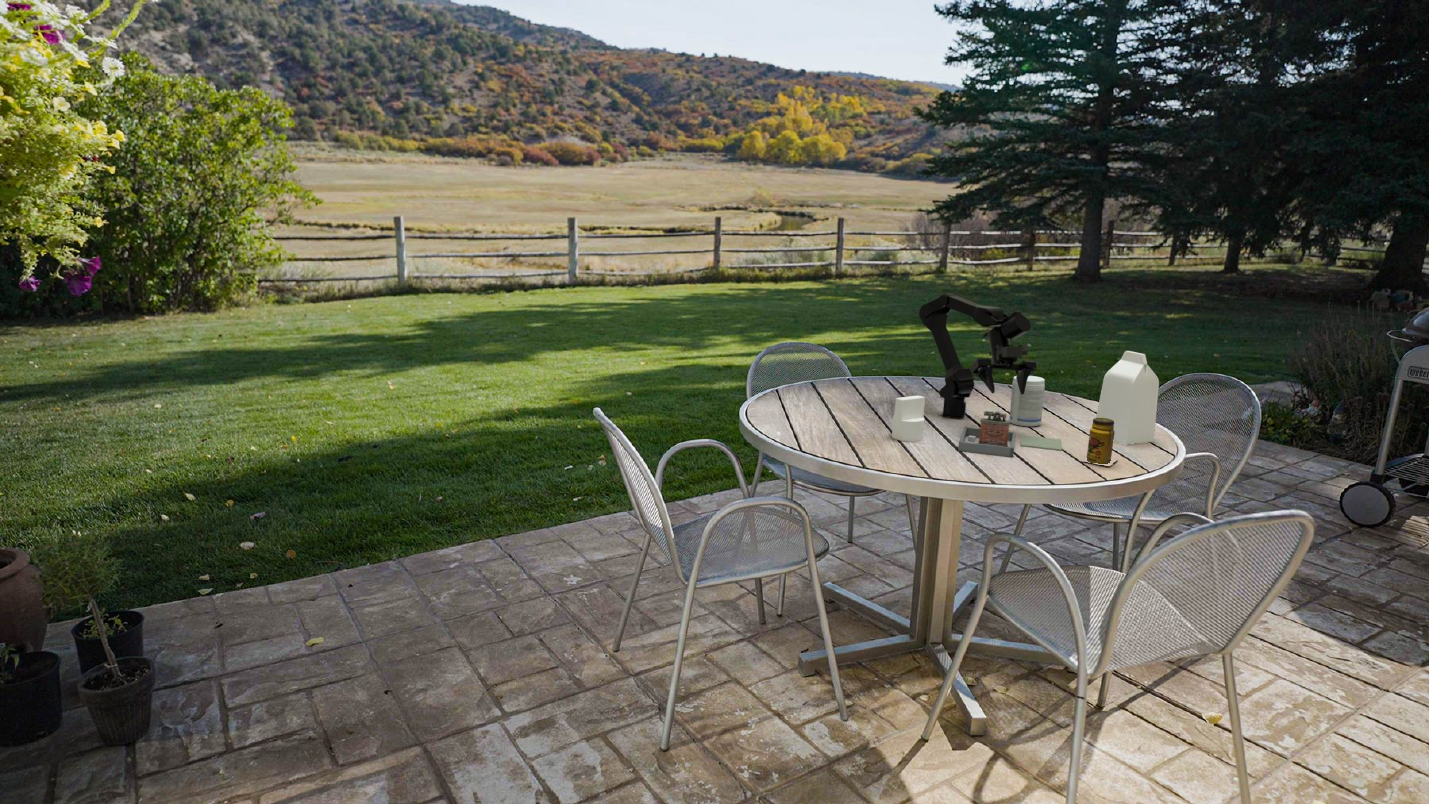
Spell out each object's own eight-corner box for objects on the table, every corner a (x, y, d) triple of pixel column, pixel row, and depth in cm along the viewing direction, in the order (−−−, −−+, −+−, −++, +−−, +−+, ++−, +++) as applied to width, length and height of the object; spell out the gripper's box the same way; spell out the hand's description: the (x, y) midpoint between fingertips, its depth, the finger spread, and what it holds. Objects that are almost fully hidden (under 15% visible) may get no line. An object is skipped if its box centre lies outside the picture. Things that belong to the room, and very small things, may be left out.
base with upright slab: (905, 443, 243) (908, 402, 240) (885, 435, 251) (888, 395, 248) (929, 439, 247) (932, 399, 244) (909, 431, 255) (912, 393, 252)
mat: (1020, 446, 242) (1020, 444, 242) (1021, 436, 252) (1021, 435, 252) (1061, 450, 238) (1061, 449, 238) (1061, 440, 248) (1061, 439, 248)
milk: (1092, 434, 256) (1104, 350, 250) (1120, 431, 260) (1132, 348, 254) (1125, 445, 245) (1138, 357, 239) (1153, 441, 250) (1166, 355, 243)
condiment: (1080, 462, 228) (1086, 419, 225) (1090, 455, 235) (1096, 414, 232) (1109, 468, 224) (1115, 424, 221) (1118, 461, 230) (1124, 418, 227)
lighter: (1007, 445, 243) (1011, 411, 240) (1007, 448, 240) (1011, 414, 237) (978, 442, 245) (981, 408, 243) (978, 445, 242) (981, 411, 240)
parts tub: (958, 450, 236) (958, 442, 236) (963, 434, 252) (964, 426, 252) (1012, 457, 231) (1013, 448, 231) (1014, 440, 247) (1015, 432, 247)
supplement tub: (1047, 425, 266) (1052, 379, 262) (1028, 429, 260) (1033, 382, 257) (1021, 418, 273) (1026, 373, 270) (1002, 421, 268) (1006, 376, 265)
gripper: (982, 331, 245) (990, 380, 239) (1042, 335, 247) (1051, 383, 241) (966, 348, 255) (973, 396, 249) (1024, 352, 257) (1032, 398, 251)
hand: (1008, 393), depth 247 cm, fingers open, 9 cm apart
